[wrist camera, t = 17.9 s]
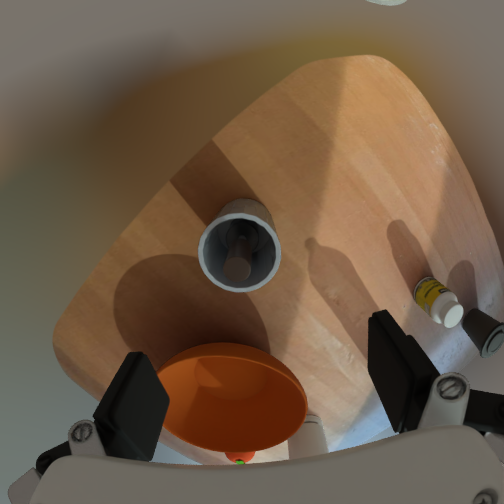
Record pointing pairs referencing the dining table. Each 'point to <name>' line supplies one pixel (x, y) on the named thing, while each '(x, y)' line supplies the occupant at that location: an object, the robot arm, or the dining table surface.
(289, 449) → the bottle
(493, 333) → the coffee cup
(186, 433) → the bowl
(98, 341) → the dining table surface
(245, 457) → the clementine
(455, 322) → the supplement bottle
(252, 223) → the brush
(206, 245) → the grey utensil holder
